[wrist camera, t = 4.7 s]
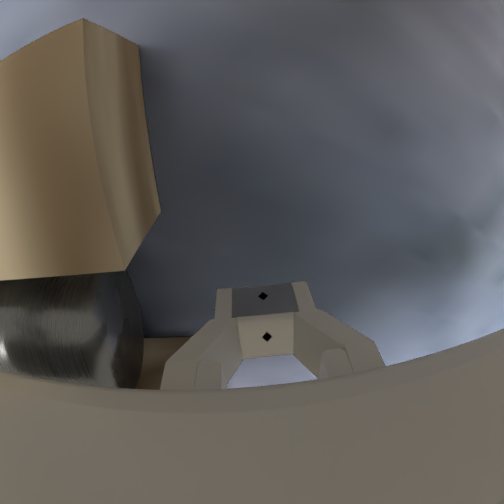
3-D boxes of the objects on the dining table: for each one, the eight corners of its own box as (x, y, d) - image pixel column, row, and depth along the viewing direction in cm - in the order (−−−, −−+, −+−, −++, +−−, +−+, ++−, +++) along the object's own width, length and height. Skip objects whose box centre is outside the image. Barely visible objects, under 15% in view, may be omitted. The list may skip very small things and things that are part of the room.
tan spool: (138, 45, 7) (82, 18, 4) (213, 406, 16) (211, 464, 12) (-82, 163, 7) (-126, 186, 4) (19, 387, 16) (2, 425, 12)
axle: (112, 235, 10) (64, 350, 6) (150, 320, 13) (134, 419, 9) (-47, 260, 10) (-86, 324, 6) (-6, 318, 13) (-33, 381, 9)
